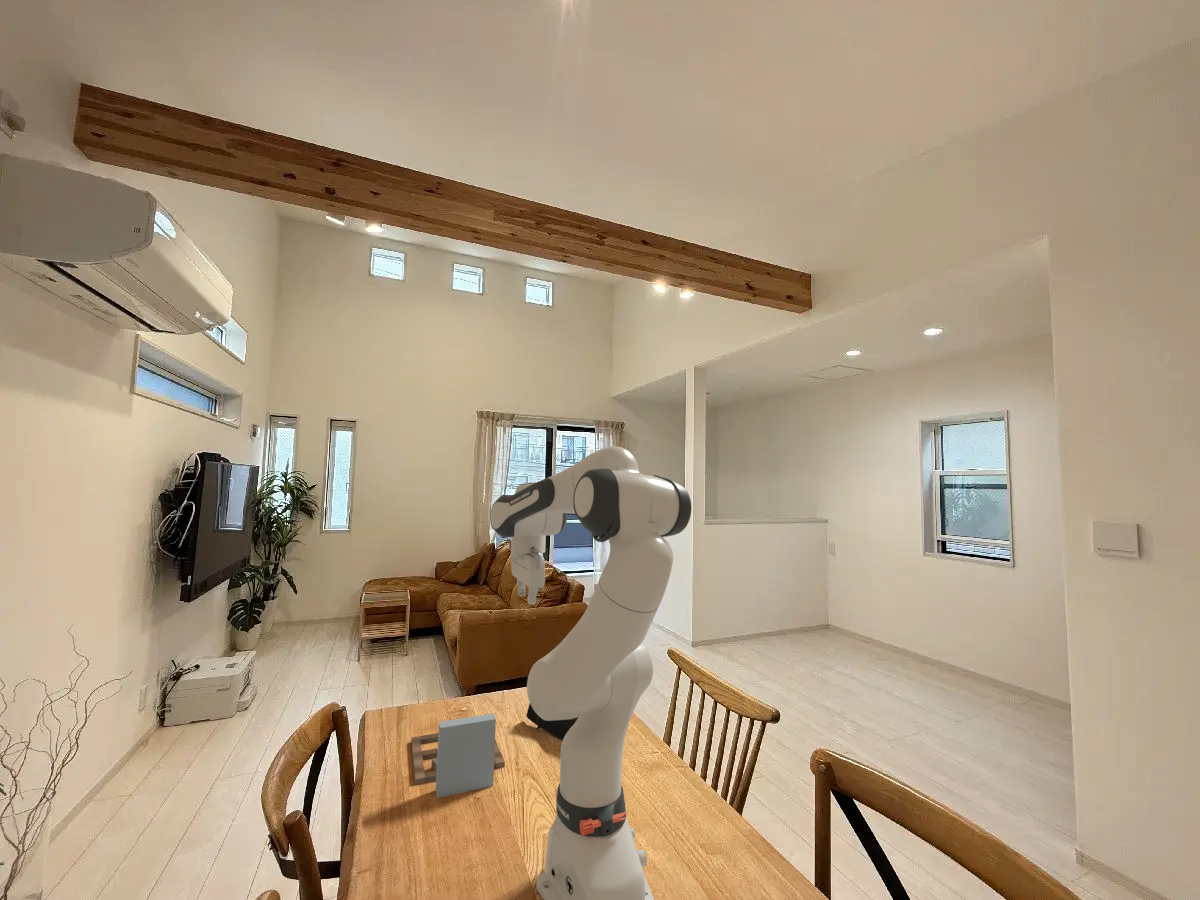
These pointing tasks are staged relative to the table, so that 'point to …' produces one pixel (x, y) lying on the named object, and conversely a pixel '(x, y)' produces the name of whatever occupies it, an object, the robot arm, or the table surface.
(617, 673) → the robot arm
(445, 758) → the sheet
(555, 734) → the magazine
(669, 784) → the table surface
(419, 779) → the rack
